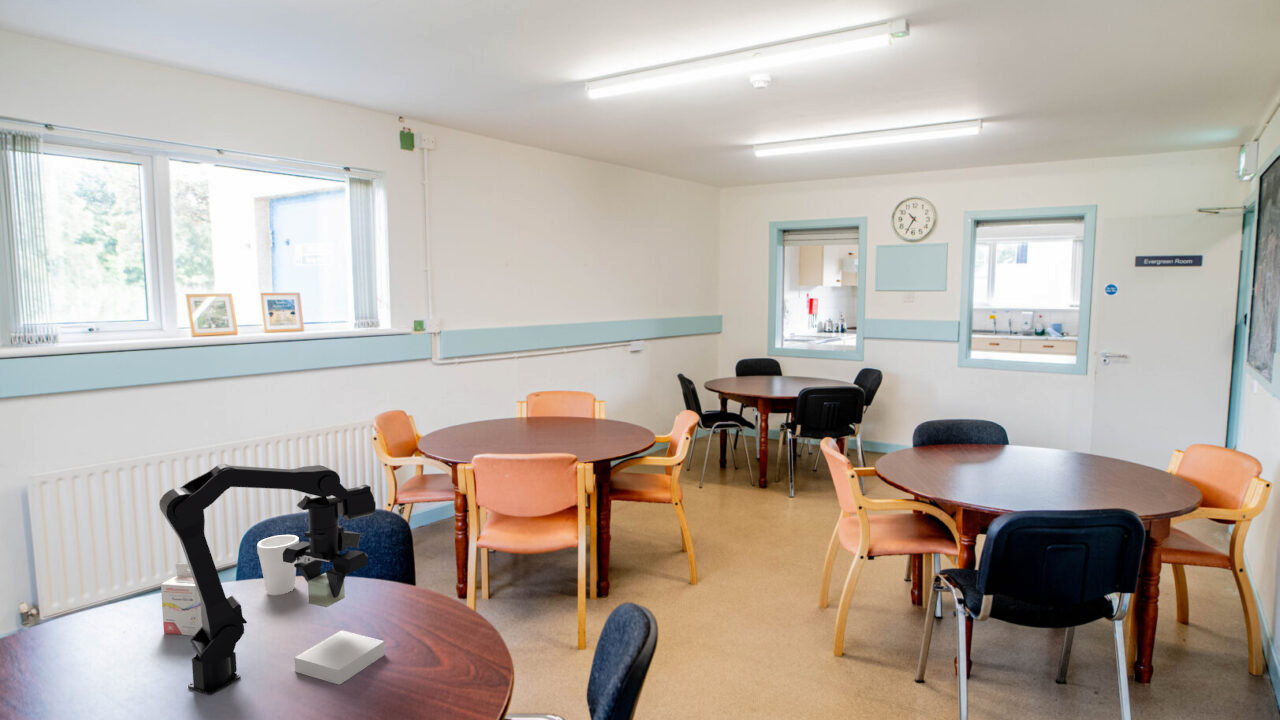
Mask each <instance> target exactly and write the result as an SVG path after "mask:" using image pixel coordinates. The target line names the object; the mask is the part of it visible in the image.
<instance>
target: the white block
mask: <svg viewBox="0 0 1280 720" xmlns="http://www.w3.org/2000/svg"><path fill="white" fill-rule="evenodd" d="M385 646H386V645H385V640H380V639H377V638H373V637H370V636H367V635H363V634H358V633H353V632H351V631H347V630H342V629H341V630H340V631H338V632H335V634H333V635H331V636H329V637H327V638H325V639H324V640H323V641H320V642H319V643H317V644H315V645H313V646H312V647H310V648H309V649H307V650H305V651H303V652H301V653H300V654H298V655H296V656H294V657H293V660H294V672H295V673H299V674H302V675H306V676H309V677H312V678H316V679H319V680H322V681H326V682H329V683H332V684H335V685H341V684H343V683H344V682H346V681H347V680H349V679H351V678H352V677H353V676H355V675H356V674H358V673H360V672H361V671H363V670H364V669H366V668H367V667H369V666H371V665H372V664H373V663H375V662H376V661H378V660H380V659H381V658H382V657H384V656H385V655H386V652H385V651H386V650H385V649H386V647H385Z"/></svg>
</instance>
